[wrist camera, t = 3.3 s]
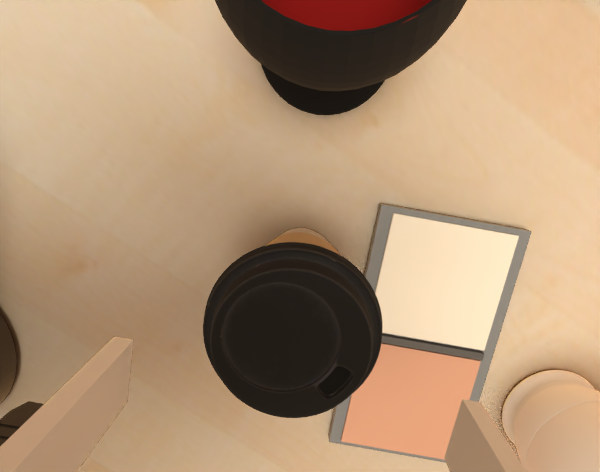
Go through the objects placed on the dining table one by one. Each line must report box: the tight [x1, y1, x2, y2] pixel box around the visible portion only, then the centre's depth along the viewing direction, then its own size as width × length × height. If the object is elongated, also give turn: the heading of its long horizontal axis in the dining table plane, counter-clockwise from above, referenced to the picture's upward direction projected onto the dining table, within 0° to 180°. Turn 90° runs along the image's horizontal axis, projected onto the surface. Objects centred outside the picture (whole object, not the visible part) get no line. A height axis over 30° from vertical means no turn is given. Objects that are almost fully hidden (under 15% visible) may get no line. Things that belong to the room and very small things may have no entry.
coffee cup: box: [203, 228, 382, 418], centre depth 27 cm, size 9×9×15 cm
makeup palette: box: [329, 203, 531, 462], centre depth 35 cm, size 12×22×2 cm, turn 170°
